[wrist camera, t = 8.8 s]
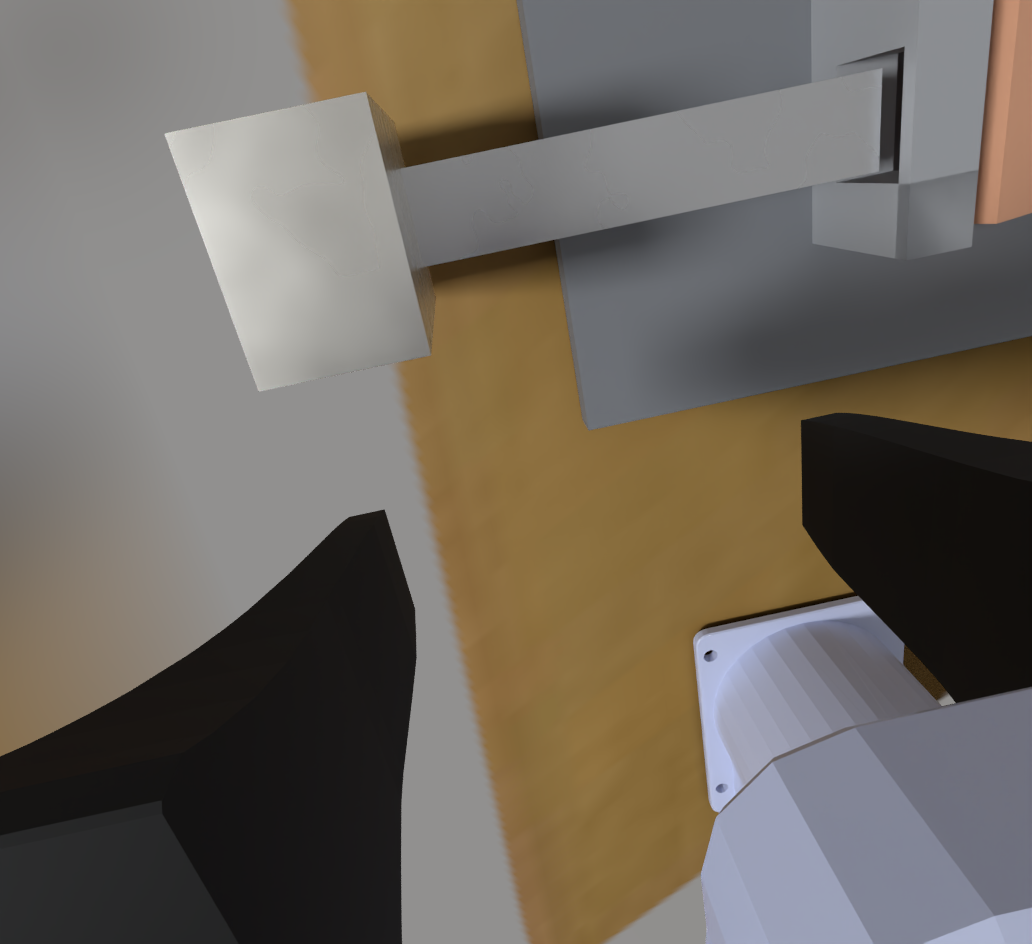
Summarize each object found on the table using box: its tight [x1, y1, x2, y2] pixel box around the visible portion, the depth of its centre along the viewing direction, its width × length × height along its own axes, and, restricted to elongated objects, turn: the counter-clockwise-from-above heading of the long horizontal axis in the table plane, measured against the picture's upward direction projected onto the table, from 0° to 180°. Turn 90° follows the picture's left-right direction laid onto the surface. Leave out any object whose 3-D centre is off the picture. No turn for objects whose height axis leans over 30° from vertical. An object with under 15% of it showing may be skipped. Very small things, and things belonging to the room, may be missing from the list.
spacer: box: [974, 0, 1032, 224], centre depth 16 cm, size 5×4×3 cm
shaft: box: [165, 68, 882, 392], centre depth 13 cm, size 4×13×6 cm, turn 101°
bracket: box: [517, 0, 1032, 430], centre depth 16 cm, size 14×16×5 cm
